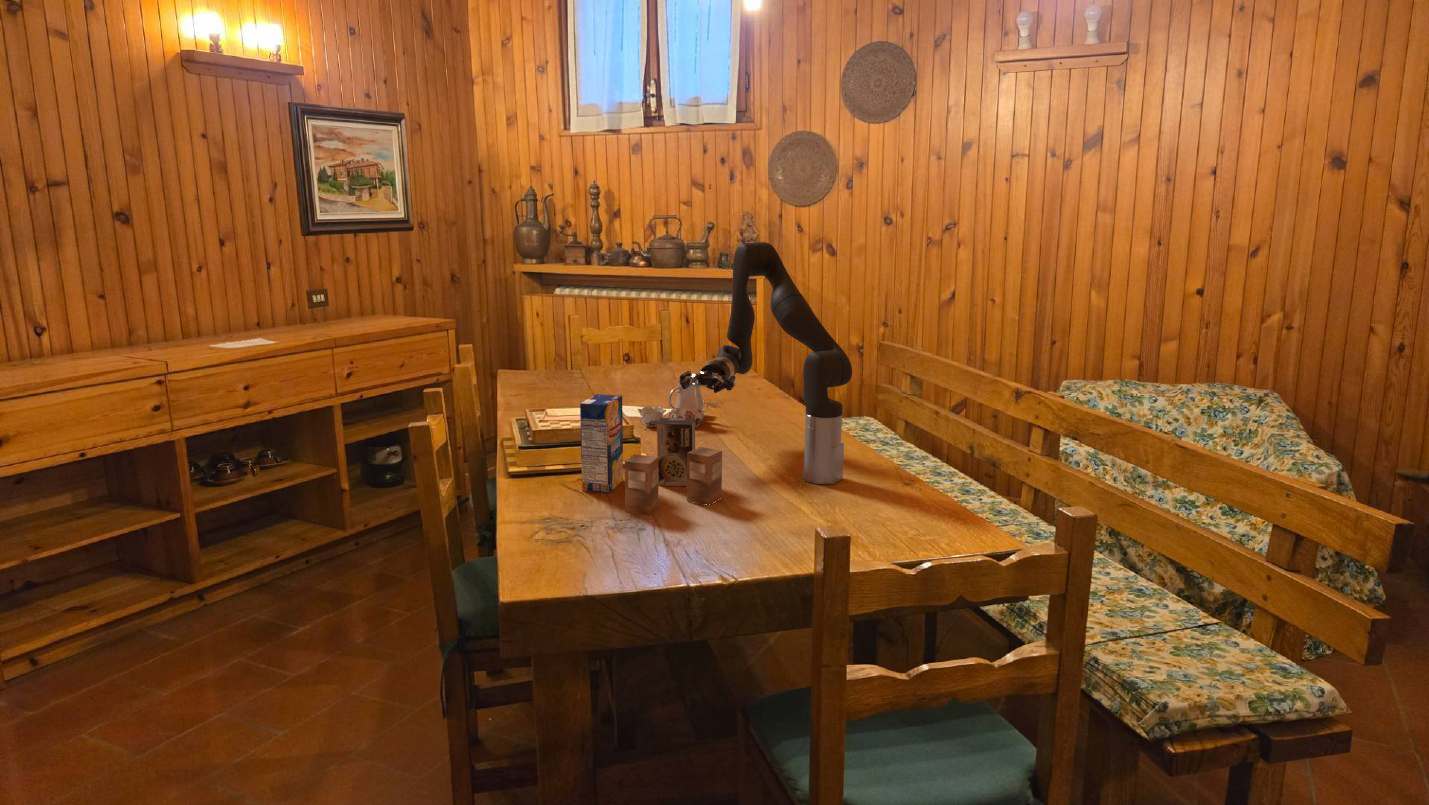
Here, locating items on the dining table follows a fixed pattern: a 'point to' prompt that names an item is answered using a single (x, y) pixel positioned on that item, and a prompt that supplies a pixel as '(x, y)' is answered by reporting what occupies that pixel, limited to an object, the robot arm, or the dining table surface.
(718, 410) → the dining table surface
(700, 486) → the marked block 2
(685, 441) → the coffee box
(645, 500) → the marked block 1
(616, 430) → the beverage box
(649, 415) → the chinaware
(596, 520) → the dining table surface
